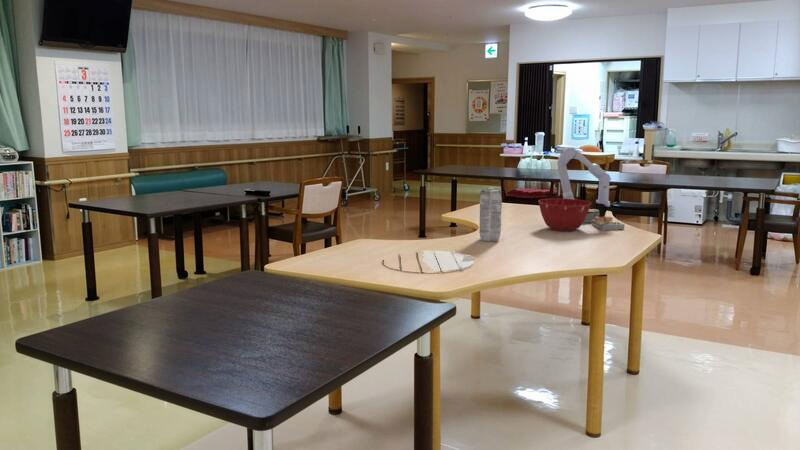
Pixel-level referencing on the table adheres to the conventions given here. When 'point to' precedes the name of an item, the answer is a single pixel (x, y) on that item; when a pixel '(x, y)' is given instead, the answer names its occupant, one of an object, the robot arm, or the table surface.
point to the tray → (610, 226)
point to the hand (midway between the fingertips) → (602, 217)
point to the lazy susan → (447, 260)
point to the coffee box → (591, 215)
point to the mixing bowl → (564, 213)
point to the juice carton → (490, 214)
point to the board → (603, 222)
